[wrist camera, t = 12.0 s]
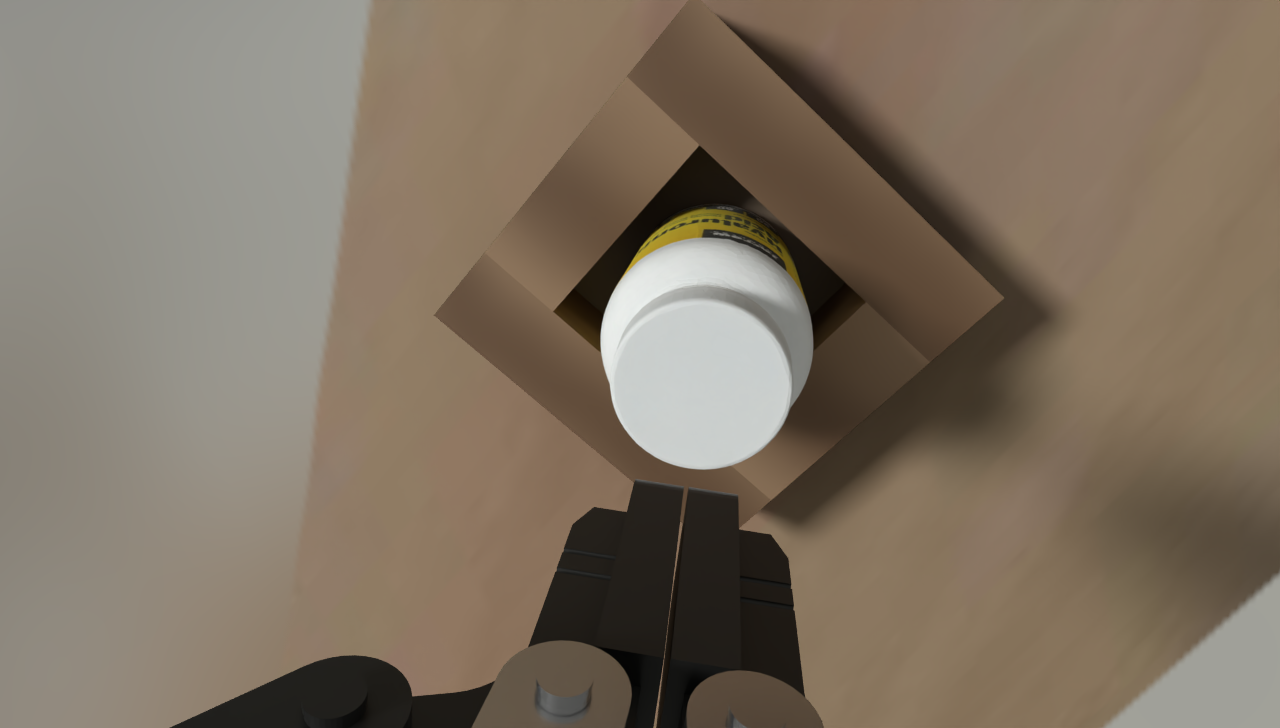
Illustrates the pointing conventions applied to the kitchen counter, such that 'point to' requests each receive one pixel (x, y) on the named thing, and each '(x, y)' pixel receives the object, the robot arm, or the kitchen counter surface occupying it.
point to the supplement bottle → (707, 338)
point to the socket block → (731, 175)
